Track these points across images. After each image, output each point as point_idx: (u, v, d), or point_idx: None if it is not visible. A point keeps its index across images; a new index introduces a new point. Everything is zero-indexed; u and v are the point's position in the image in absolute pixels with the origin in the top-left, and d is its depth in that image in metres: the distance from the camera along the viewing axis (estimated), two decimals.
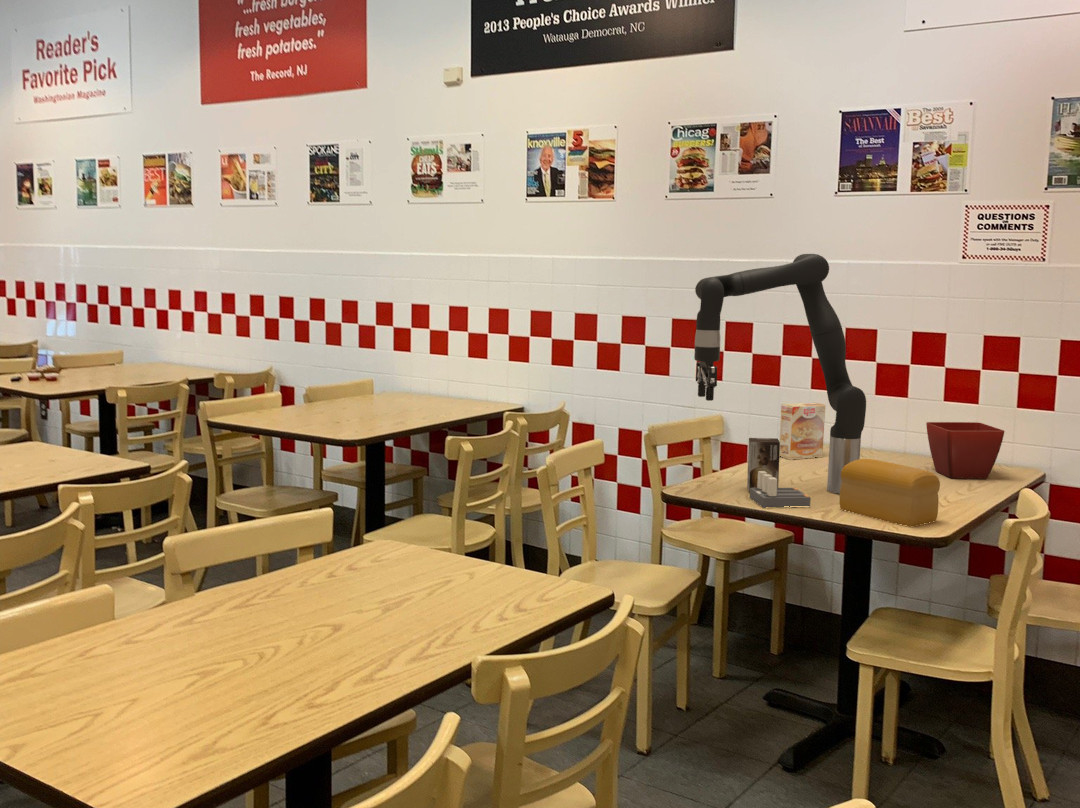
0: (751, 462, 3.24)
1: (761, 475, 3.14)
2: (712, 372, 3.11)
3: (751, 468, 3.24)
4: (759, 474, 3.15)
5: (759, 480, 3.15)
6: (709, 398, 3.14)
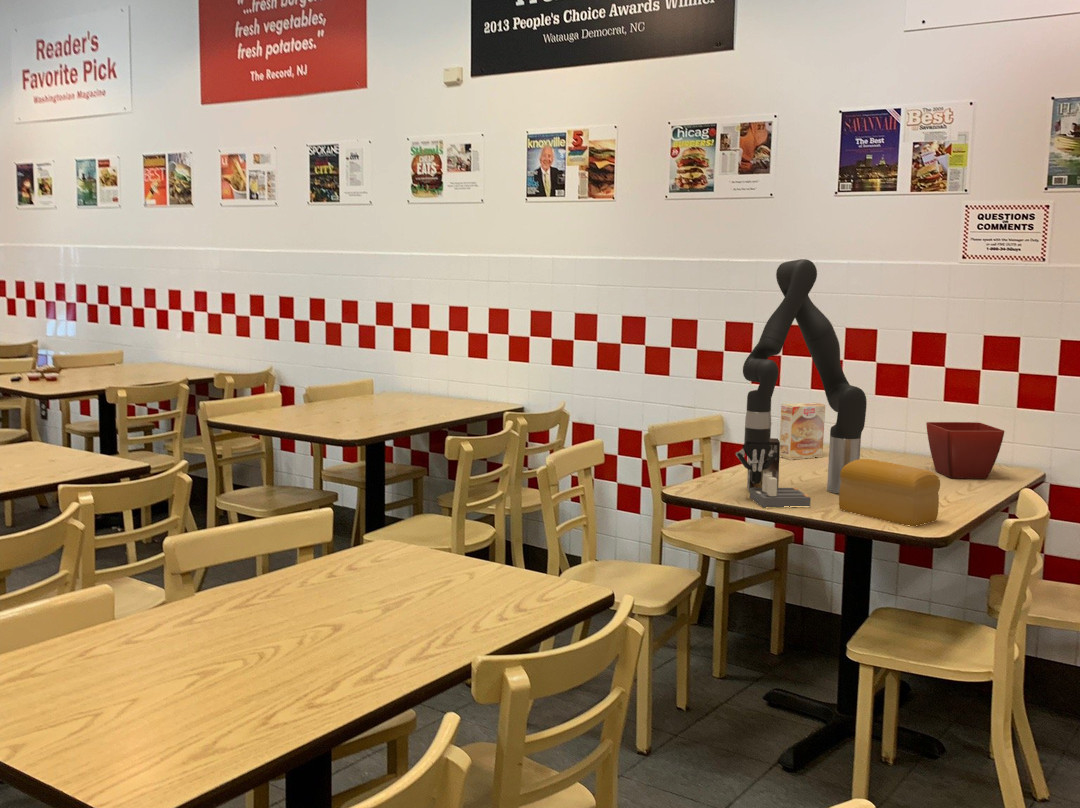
0: None
1: None
2: None
3: None
4: None
5: None
6: (759, 481, 3.15)
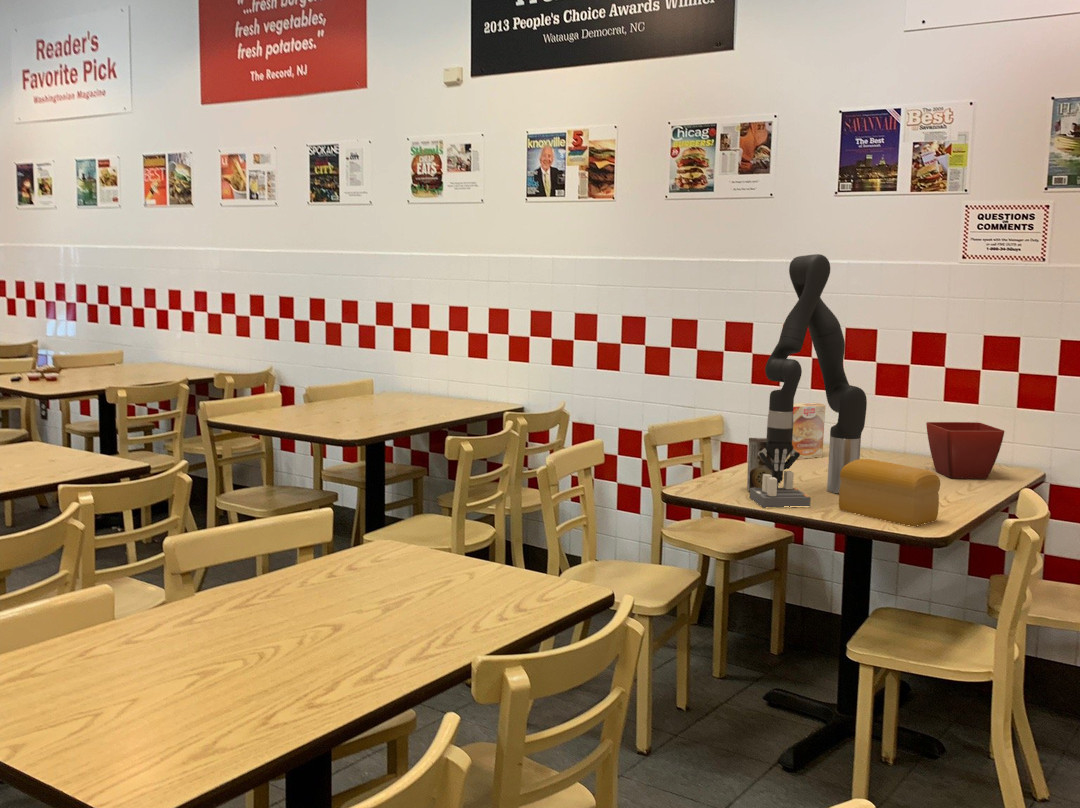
0: (751, 462, 3.24)
1: (787, 475, 3.15)
2: None
3: (751, 468, 3.24)
4: (785, 474, 3.16)
5: (785, 480, 3.16)
6: (781, 480, 3.16)
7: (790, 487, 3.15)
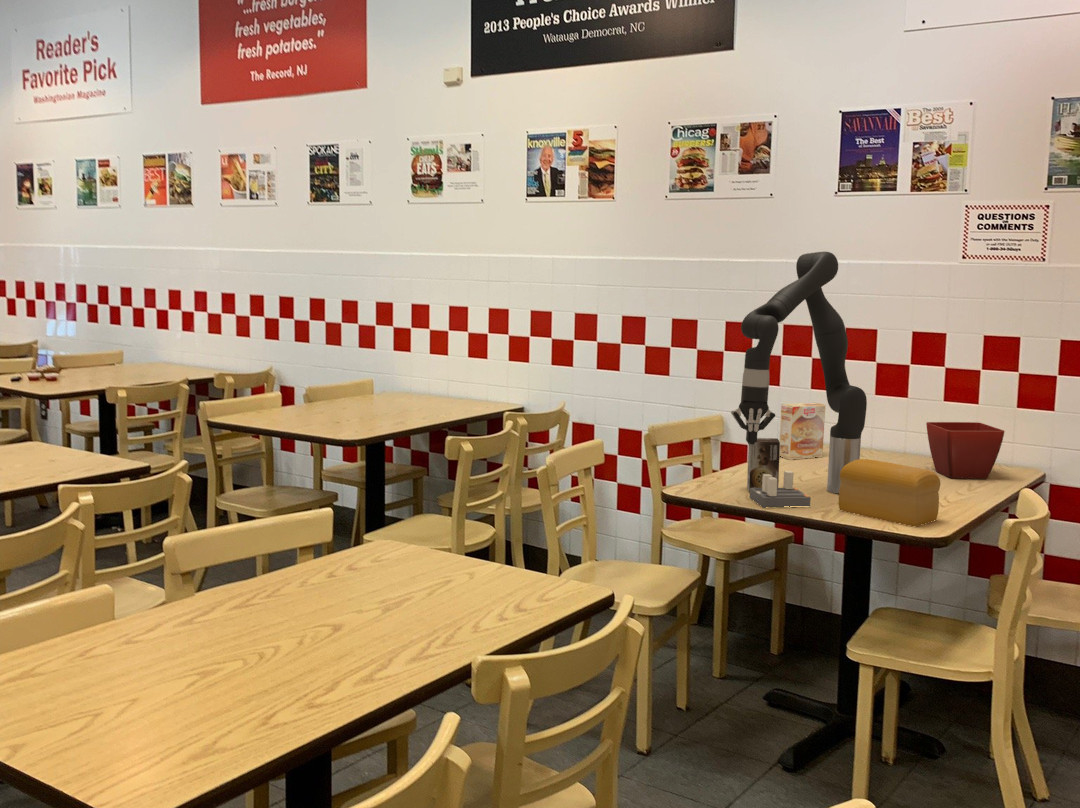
0: (751, 462, 3.24)
1: (787, 475, 3.15)
2: None
3: (751, 468, 3.24)
4: (785, 474, 3.16)
5: (785, 480, 3.16)
6: (755, 441, 3.05)
7: (790, 487, 3.15)
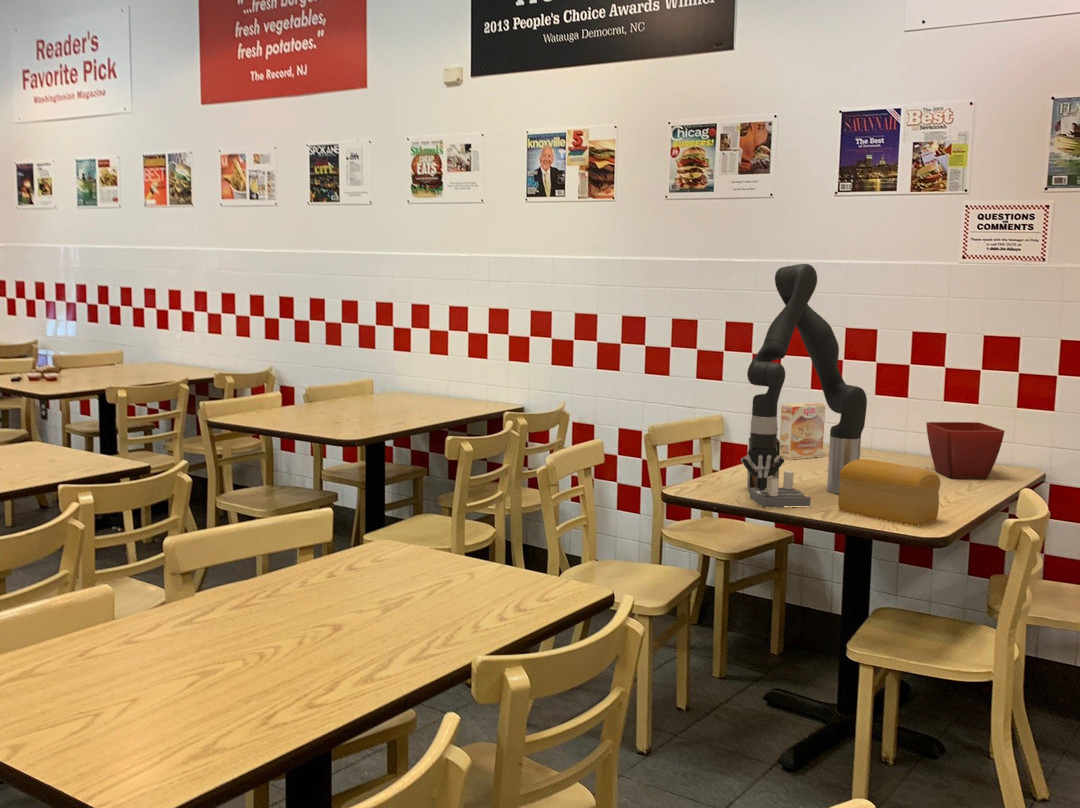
0: (751, 462, 3.24)
1: (787, 475, 3.15)
2: None
3: None
4: (785, 474, 3.16)
5: (785, 480, 3.16)
6: (765, 487, 3.06)
7: (790, 487, 3.15)
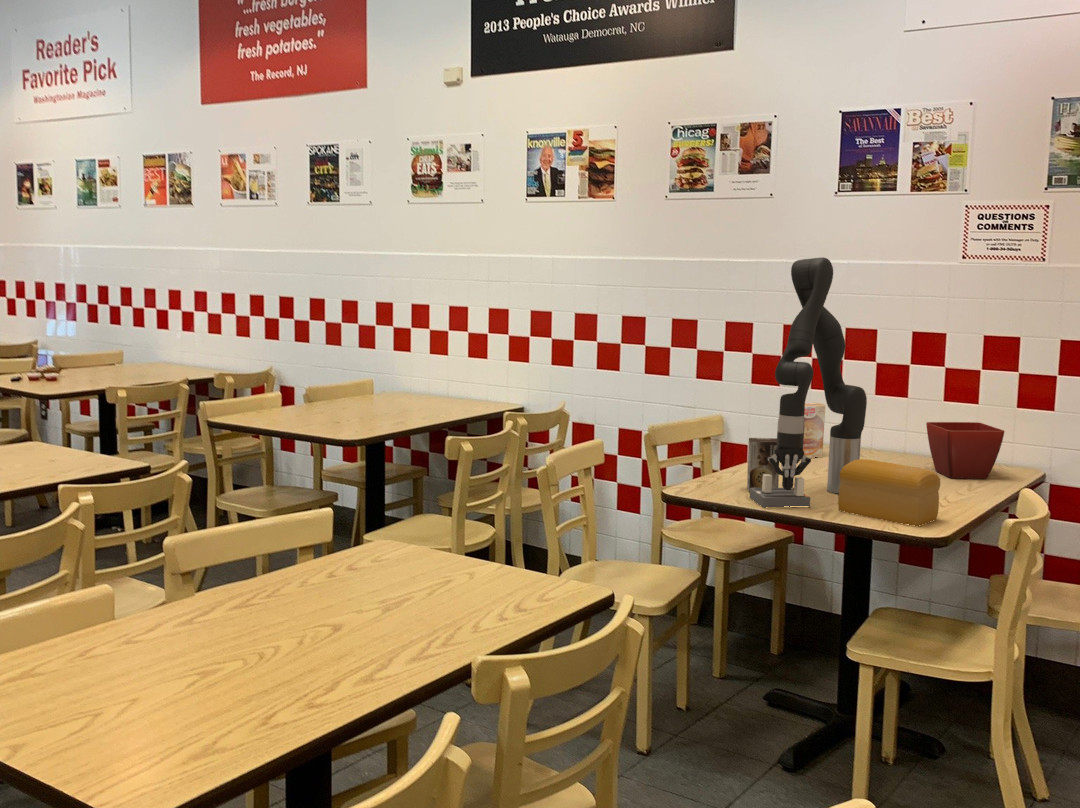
0: (751, 462, 3.24)
1: None
2: None
3: (751, 468, 3.24)
4: None
5: None
6: None
7: None
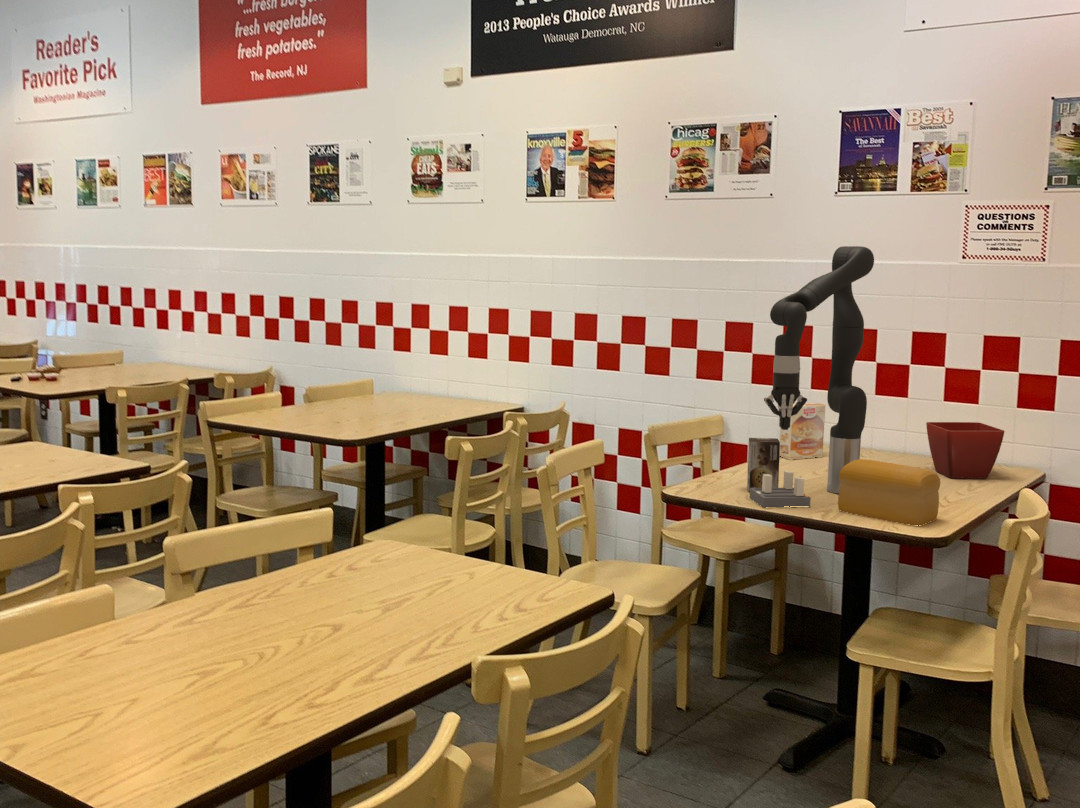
0: (751, 462, 3.24)
1: (787, 475, 3.15)
2: None
3: (751, 468, 3.24)
4: (785, 474, 3.16)
5: (785, 480, 3.16)
6: None
7: (790, 487, 3.15)
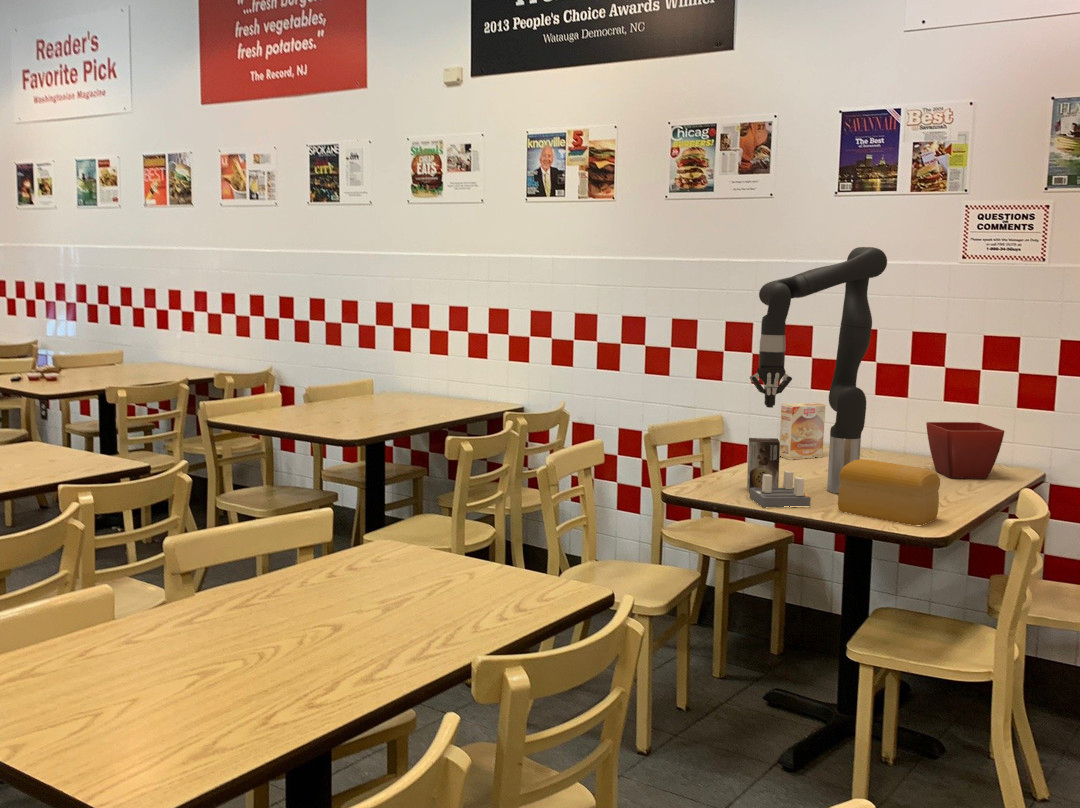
0: (751, 462, 3.24)
1: (787, 475, 3.15)
2: None
3: (751, 468, 3.24)
4: (785, 474, 3.16)
5: (785, 480, 3.16)
6: None
7: (790, 487, 3.15)
